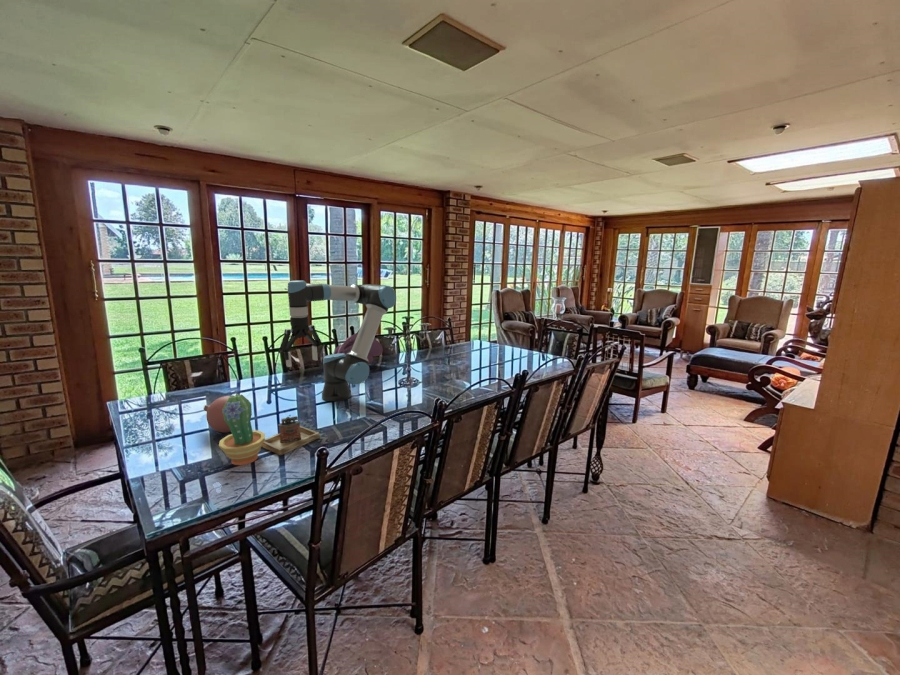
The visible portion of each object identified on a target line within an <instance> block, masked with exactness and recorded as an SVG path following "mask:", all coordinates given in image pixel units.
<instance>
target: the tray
mask: <svg viewBox="0 0 900 675" xmlns="http://www.w3.org/2000/svg"><path fill="white" fill-rule="evenodd" d="M300 434H301V440H299V441H295V442H289V443H280V432H279V433H277V434H275V435H273V436H269V437H268V438H267V437H266V438H265V440H264V442H263V443H262V446H261V448H264V449H266V450H268V451H270V452H272V453H274V454H277V455H279V456H282V455H285V454H287V453H289V452H292V451H293V450H295V449H297V448H300V447H302V446H305V445H307V444H309V443H311V442H313V441H316V440H317V439H320V432H318V431H315V430H312V429H311V428H307V427H304V426H303V425H300Z"/></svg>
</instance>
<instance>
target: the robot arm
mask: <svg viewBox="0 0 900 675" xmlns="http://www.w3.org/2000/svg"><path fill="white" fill-rule="evenodd" d="M287 295H288V296H287V297H288V309H289V316H290V318H289V320H290V321H289V323H290V326H291V328H290V329H287V328H285V329H284V332H283V333H284V335H283V338H282V340H281V344H280V346H279V349H278V351H279V352H282V353H283V359H284V360H285V365H286V367H287V368H292V367H293V366H292V365H293V364H292V354H291V353H292V352H290V351H291V349H292V348H293V346H294V344H295V342H296V340H298V339H300V338H306V339H307V340H308V342H310V343H311V344H312V345H311V356H312V358H311V359H312V361H319V360H318V359H319V358H318V353H319V347H320V346H321V344H322V340H321V338H320V337H319V334H318V333H317V330H316V327H315V326H316V325H313V324H310V323H309V322H310V321H309V308H308V303H309V302H319V301H326V300H328V301H344V302H345V301H348V302H350V303H353V304H360V305H365V307H366V312H365V314H364V316H363V320H362V322H361V325H360V327H359V330H358V332H357V333H358V335H357V337H356V340H355V342H354V345H353V348H352V350H351V352H349V353H347V355H346V354H344V353H339V354H334V353H333V354H327V355H325V356H324V357H323V360H322V365H323V378H324V385H323V389H322V392H321V399H322V400H323V401H326V402H340V401H344V400H347V399H350V398H351V397H352V391H351V388H350V385H349V384H351V385H360V384H362V383H364V382H365V381H366V380H367V379H368V378H369V375H370V370H369V369H370V366H369V365H367V364H368V359H367V356H368V353H369V351H370V348H371V345H372V343H373V340H374V337H375V336H376V334H377V332H378V329H379V327H380V324H381V321H382V318H383V316H384V315H386V314H387V313H388V311H389V309H392V308H393V307H394V306H395V305H396V302H397V294H396V291H395V289H394V288H393V287H392V286H391V285H387V284H371V283H366V284H351V285H350V286H349V285H336V284H327V283H309V282H308V283H307V281H305V280H290V281H288V282H287ZM375 338H376V337H375Z"/></svg>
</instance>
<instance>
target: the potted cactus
mask: <svg viewBox="0 0 900 675" xmlns="http://www.w3.org/2000/svg"><path fill="white" fill-rule="evenodd" d="M229 396H230V397H229V398H228V400H227V402H226V404H225V405H224V407H223V409H222V410H223V415H224V420H225V422H226V423H227V424H228V426H229V428H230V430H231V432H230V433H231V434H228V435H226V436H225V437H223V438H222V439H220V440H219V442H218V443H219V444H218V447H219V449H220V450H222V451H223V453H224V454H225V456H226V457H227V458H229V459H230V460H231V461H230V463H231V464H233V466H243V465H249V464H251V463H253V462H255V461H256V460H257V459H258V457H259V455H258V454H259V453H260V451H261V448H262V447H261V446H262V443H263V442H264V440H265V439H266V433H265V432H263V431H261V430H253V427H252V423H251V419H252V415H253V414H252V412H253V411H252V403H251V401H250V400H249V399H248V398H247V397H246V396H244V395H243V393H242V394H238V393H236V394H235V395H233V394H231V395H229Z"/></svg>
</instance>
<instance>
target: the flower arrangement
mask: <svg viewBox="0 0 900 675" xmlns="http://www.w3.org/2000/svg"><path fill="white" fill-rule="evenodd" d="M357 335H358V332H356V333H354V334H352V335H351V336H349V337H347V338H345V341H344V342H343V343H342V344H340V345H338V346H337V347H336V348H335V349H334V352H333V354H339V353H344V354H346V355H347V353H349V352H351V350H352V348H353V345H354V342H355V340H356V337H357ZM383 350H384V348H383V346H382V344H381V343H380V341H378V340H377V339H376V337H374V340H373V343H372V345H371V348H370V351H369V353H368V356H367V359H368V364H367V365H368V366H369V365H371V364H372V363H373V361H374V357H379V356H381V355H383ZM369 371H370V368H369Z"/></svg>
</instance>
